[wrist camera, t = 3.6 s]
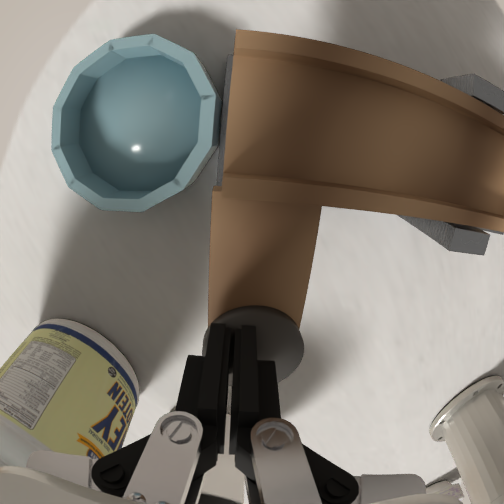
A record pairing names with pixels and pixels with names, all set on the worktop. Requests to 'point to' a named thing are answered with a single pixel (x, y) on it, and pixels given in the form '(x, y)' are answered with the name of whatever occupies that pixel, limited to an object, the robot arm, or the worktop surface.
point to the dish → (135, 123)
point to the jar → (223, 478)
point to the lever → (332, 171)
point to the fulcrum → (440, 231)
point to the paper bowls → (446, 489)
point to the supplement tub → (65, 394)
